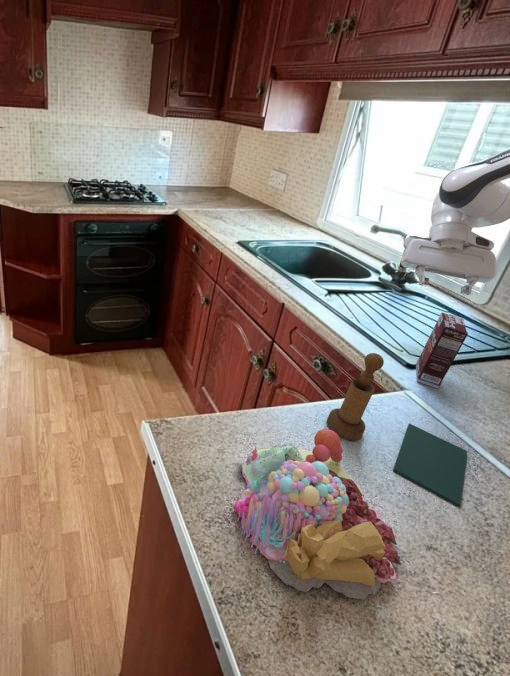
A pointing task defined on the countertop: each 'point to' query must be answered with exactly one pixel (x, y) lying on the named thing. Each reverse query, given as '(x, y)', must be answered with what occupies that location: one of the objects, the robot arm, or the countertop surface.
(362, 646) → the countertop surface
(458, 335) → the supplement box
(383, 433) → the countertop surface
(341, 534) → the candy landscape model
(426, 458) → the rubber mat
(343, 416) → the mortar and pestle
